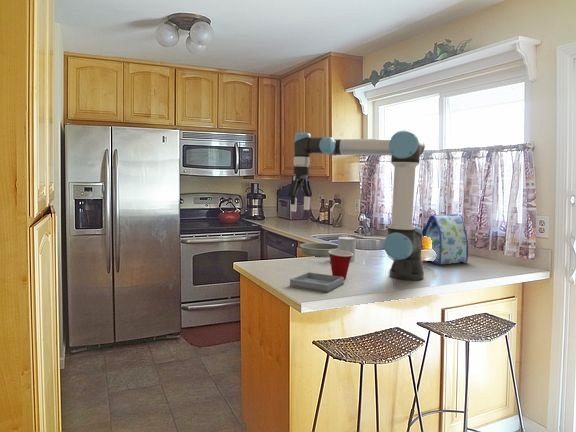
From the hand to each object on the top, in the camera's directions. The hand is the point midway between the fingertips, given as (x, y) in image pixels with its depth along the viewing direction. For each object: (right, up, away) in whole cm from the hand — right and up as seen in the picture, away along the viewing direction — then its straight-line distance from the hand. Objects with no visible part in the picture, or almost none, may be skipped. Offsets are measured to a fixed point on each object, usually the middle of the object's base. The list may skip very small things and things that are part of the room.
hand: (300, 210), depth 215 cm
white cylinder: (+25, -27, +25) cm, 45 cm away
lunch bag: (+79, -28, +29) cm, 88 cm away
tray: (+6, -31, -30) cm, 44 cm away
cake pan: (+13, -25, +47) cm, 54 cm away
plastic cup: (+17, -30, -17) cm, 39 cm away
